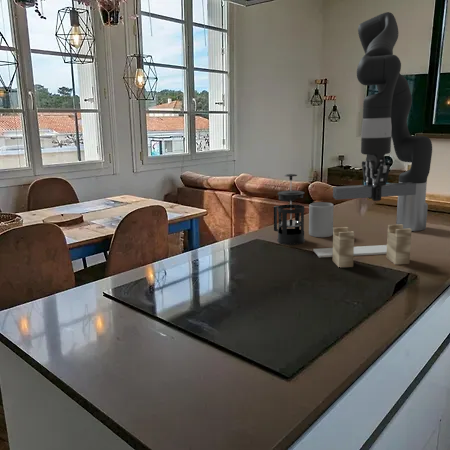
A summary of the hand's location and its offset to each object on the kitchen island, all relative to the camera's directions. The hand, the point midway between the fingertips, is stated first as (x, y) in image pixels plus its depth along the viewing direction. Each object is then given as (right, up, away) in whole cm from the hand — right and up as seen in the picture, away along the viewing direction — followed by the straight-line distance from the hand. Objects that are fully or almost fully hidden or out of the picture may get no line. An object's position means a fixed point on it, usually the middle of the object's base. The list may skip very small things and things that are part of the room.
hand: (373, 199), depth 117 cm
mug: (-6, -10, +37) cm, 39 cm away
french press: (-19, -13, +29) cm, 37 cm away
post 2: (+8, -17, +5) cm, 20 cm away
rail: (0, +1, 0) cm, 1 cm away
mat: (0, -15, +14) cm, 21 cm away
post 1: (-8, -18, +4) cm, 20 cm away
